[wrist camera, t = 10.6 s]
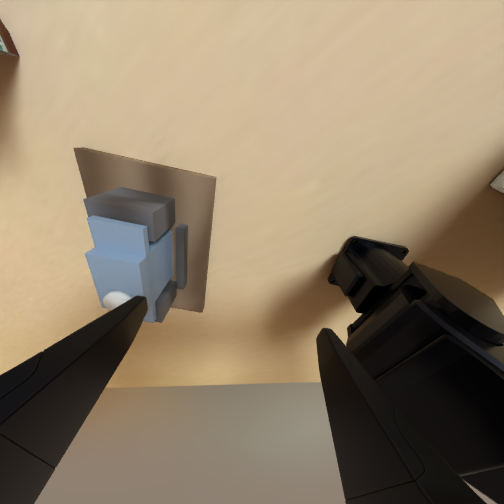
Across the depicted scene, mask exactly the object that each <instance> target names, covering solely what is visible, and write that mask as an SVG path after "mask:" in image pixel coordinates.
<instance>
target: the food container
mask: <svg viewBox="0 0 504 504" xmlns="http://www.w3.org/2000/svg"><path fill="white" fill-rule="evenodd" d="M0 54H5V55H12V56H18V57H20V56H19V54H18V52H17V49H16V47H15V45H14V43H13V40H12V38H11V36H10V34H9V32H8V30H7V29H6V27H5V26H4V24H3V22H2V21H1V19H0Z"/></svg>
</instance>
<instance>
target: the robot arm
mask: <svg viewBox="0 0 504 504" xmlns="http://www.w3.org/2000/svg"><path fill="white" fill-rule="evenodd" d="M354 240H356V241H355V242H353V241H354ZM402 251H403V252H402ZM408 252H409V250H408V249H407V248H406V247H404V246H400V245H395V244H390V243H386V242H381V241H376V240H371V239H367V238H362V237H357V236H353V237H351V238H350V239H349V241H348V243H347V245H346V247H345V248H344V250H343V252H342V253H341V254H340V256H339V258H338V260H337V261H336V263H335V265H334V267H333V269H332V272H331V274H330V276H329V278H328V282H329V283H330V284H333V285H338V286H340V288H341V290H342V291H343V293H344V295H345V296H347V297H348V298H349V300H350V302H351V303H352V305H353V307H354V309H355V311H356V312H357V313H362V315H361V316H360V317H359V318H358V319H357V320H356V321H355V322H354V323H353V324H350V325H349V326H348V327H347V332H348V339H347V343H346V346H347V347H346V346H345V345H344V343H343V342H342V341H341V340H340V339H339V337H338V336H337V335H336V334H335V333H334V332H333V330H331V329H329V328H322V330H321V331H320V333H319V334H318V336H317V339H316V343H317V353H318V363H319V371H320V377H321V382H322V387H323V392H324V397H325V402H326V407H327V412H328V417H329V422H330V427H331V431H332V437H333V442H334V447H335V451H336V457H337V462H338V467H339V471H340V476H341V481H342V486H343V491H344V496H345V499H346V501H345V502H346V504H487V503H486V502H484V501H483V500H482V499H481V498H480V497H479V496H478V495H477V494H476V493H475V492H474V491H473V490H472V489H471V488H470V487H469V486H468V485H467V484H466V482H467V483H468V484H470V485H471V486H472V487H474V488H475V489H477V490H478V491H480V492H481V493H482V494H484V495H486V496H487V497H488V498H490V499H491V500H493V501H494V502H495V503H497V504H504V315H503V314H502V312H501V311H500V309H499V308H498V306H497V305H496V303H495V302H494V300H493V299H491V298H490V297H488V296H487V295H485V294H484V293H482V292H480V291H479V290H477V289H476V288H474V287H472V286H471V285H469V284H468V283H466V282H464V281H463V280H461V279H459V278H456V277H454V276H451V275H448V274H446V273H443V272H440V271H437V270H435V269H432V268H429V267H426V266H424V265H421V264H418V263H416V262H413V263H412V264H411V265H410V266H409V267H407V266H406V265H405V264H404V263H403V262H402V260H403V259H404V257H405V256H406V255H407V254H408ZM331 280H333V281H331ZM147 311H148V304H147V298H146V297H145V296H140V295H137V296H135V297H133V298H131V299H130V300H128V301H126V302H125V303H123V304H121V305H119V306H118V307H116V308H114V309H113V310H111V311H109V312H108V313H106V314H104V315H103V316H101V317H99V318H97V319H96V320H94V321H92V322H91V323H89V324H87V325H86V326H84V327H82V328H81V329H79V330H77V331H75V332H74V333H72V334H70V335H69V336H67V337H65V338H64V339H62V340H60V341H59V342H57V343H55V344H53V345H52V346H50V347H48V348H47V349H45V350H44V351H43V352H40V353H38V354H36V355H35V356H33V357H31V358H30V359H28V360H26V361H24V362H23V363H21V364H19V365H17V366H16V367H14V368H12V369H11V370H9V371H7V372H5V373H3V374H1V375H0V504H34V503H35V501H36V499H37V498H38V496H39V495H40V493H41V491H42V490H43V488H44V486H45V485H46V483H47V482H48V480H49V478H50V477H51V475H52V473H53V472H54V470H55V467H57V465H58V463H59V462H60V460H61V458H62V457H63V455H64V454H65V452H66V450H67V449H68V447H69V446H70V444H71V442H72V440H73V439H74V437H75V436H76V434H77V432H78V431H79V429H80V428H81V426H82V424H83V423H84V421H85V419H86V418H87V416H88V415H89V413H90V411H91V409H92V408H93V406H94V405H95V403H96V401H97V400H98V398H99V396H100V394H101V393H102V392H103V390H104V388H105V387H106V385H107V383H108V382H109V380H110V379H111V377H112V375H113V374H114V372H115V370H116V369H117V367H118V366H119V364H120V362H121V361H122V359H123V357H124V356H125V354H126V352H127V351H128V349H129V348H130V346H131V344H132V342H133V340H134V338H135V336H136V334H137V332H138V330H139V328H140V326H141V324H142V322H143V320H144V318H145V316H146V313H147Z"/></svg>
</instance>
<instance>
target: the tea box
mask: <svg viewBox="0 0 504 504" xmlns="http://www.w3.org/2000/svg"><path fill="white" fill-rule="evenodd" d="M490 186H492V188H494V189H496V190H498V191H500V192H502V193H504V171H503V172H502V173H501V174H500V175H499V176H498V177H497V178H496V179H495V180H494V181H493V182H492V183H491V184H490Z"/></svg>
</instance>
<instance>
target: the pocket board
mask: <svg viewBox="0 0 504 504" xmlns="http://www.w3.org/2000/svg"><path fill="white" fill-rule="evenodd" d="M74 152H75V156H76V159H77V163H78V167H79V170H80V174H81V178H82V181H83V185H84V189H85V193H86V196H87V198H86V199H83V200H84V203H85V207H86V210H87V214H88V217H91V216H93V215H94V216H99V217H104V218H109V219H114V220H119V221H124V222H129V223H134V224H138V225H143V226H147V231H148V240H149V241H153V242H155V241H156V240H157V239H158V238H160V237H161V236H162V235H163V234H164V233H165V232H166V231H167V230H169V231H172V262H173V275H172V277H171V279H170V280H169V282H168V283H167V285H166V286H165V288H164V289H163V291H162V292H161V294H160V295H159V297H158V298H157V300H156V301H155V308H156V320H155V322H161V323H162V321H163V320H164V318H165V316H166V314H167V312H168V311H169V309H170V307H172V308H178V309H184V310H189V311H195V312H201V313H202V312H203V309H204V302H205V292H206V281H207V271H208V260H209V250H210V239H211V229H212V218H213V208H214V197H215V186H216V177H214V176H209V175H205V174H200V173H196V172H191V171H187V170H182V169H178V168H173V167H169V166H164V165H160V164H155V163H151V162H146V161H142V160H137V159H133V158H128V157H124V156H119V155H115V154H110V153H106V152H101V151H97V150H92V149H88V148H74Z"/></svg>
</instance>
